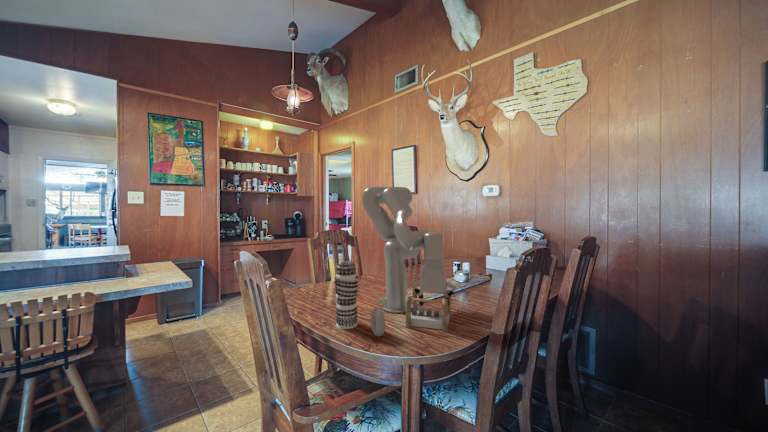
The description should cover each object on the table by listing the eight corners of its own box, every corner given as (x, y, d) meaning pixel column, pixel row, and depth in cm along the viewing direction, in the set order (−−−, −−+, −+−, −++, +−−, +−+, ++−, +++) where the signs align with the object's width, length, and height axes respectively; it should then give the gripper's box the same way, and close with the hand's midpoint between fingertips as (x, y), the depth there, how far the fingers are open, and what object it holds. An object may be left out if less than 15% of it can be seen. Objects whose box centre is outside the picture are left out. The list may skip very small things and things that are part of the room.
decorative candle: (342, 319, 127) (341, 259, 126) (362, 322, 124) (361, 260, 123) (330, 327, 119) (329, 263, 118) (351, 330, 115) (350, 265, 114)
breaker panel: (408, 325, 120) (408, 313, 120) (413, 316, 130) (413, 305, 129) (446, 329, 116) (446, 317, 115) (449, 320, 125) (449, 308, 125)
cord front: (409, 300, 117) (409, 298, 117) (409, 300, 118) (409, 297, 118) (443, 303, 114) (443, 301, 114) (443, 303, 115) (443, 300, 114)
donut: (386, 340, 107) (386, 312, 107) (377, 341, 106) (377, 313, 105) (378, 329, 116) (377, 303, 116) (369, 330, 115) (369, 304, 115)
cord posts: (405, 327, 118) (405, 297, 117) (413, 314, 132) (413, 287, 132) (447, 332, 113) (447, 300, 113) (451, 318, 127) (451, 289, 127)
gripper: (410, 264, 120) (410, 307, 121) (455, 266, 115) (455, 311, 115) (414, 261, 127) (414, 301, 128) (456, 262, 122) (456, 305, 123)
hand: (433, 306), depth 122 cm, fingers open, 9 cm apart
